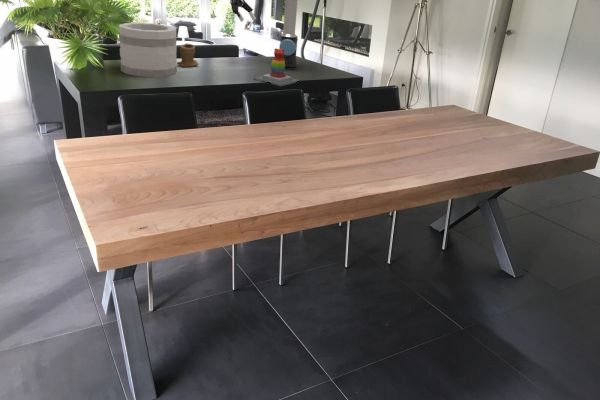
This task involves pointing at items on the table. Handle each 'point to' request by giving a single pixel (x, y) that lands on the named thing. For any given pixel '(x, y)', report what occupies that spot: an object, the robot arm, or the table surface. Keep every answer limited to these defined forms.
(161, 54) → the storage basket
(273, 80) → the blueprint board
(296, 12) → the robot arm
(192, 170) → the table surface
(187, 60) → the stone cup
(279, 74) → the stacking bear
